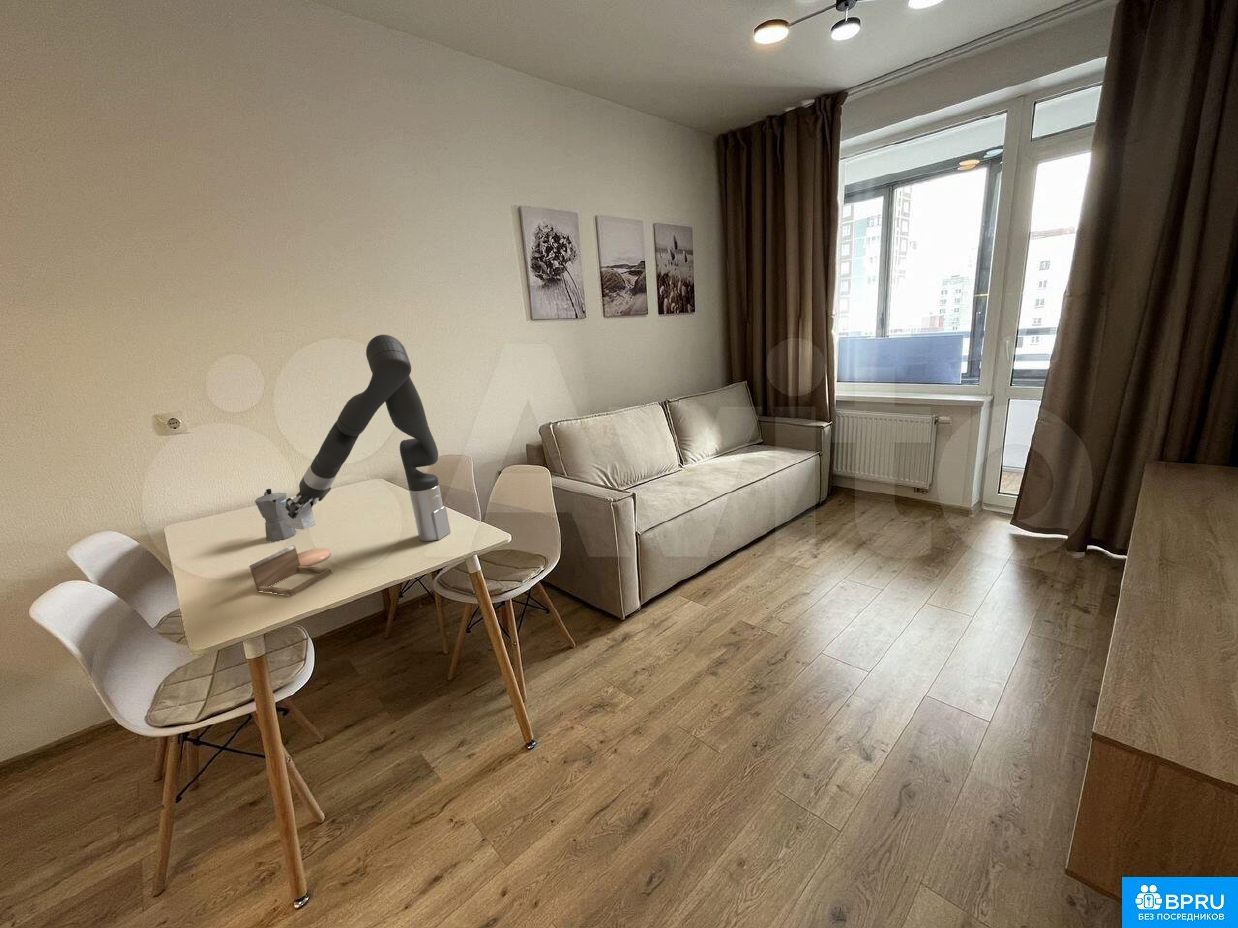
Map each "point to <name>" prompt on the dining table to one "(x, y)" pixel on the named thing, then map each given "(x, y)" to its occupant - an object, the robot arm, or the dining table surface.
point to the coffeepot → (274, 516)
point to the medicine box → (298, 517)
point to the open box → (283, 572)
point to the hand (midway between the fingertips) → (298, 512)
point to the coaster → (313, 556)
